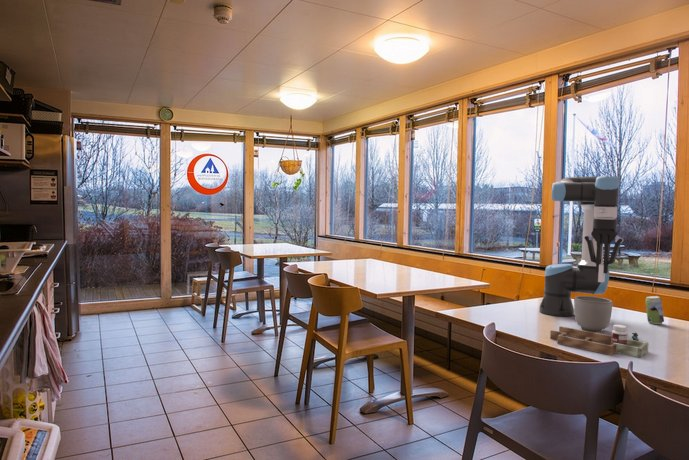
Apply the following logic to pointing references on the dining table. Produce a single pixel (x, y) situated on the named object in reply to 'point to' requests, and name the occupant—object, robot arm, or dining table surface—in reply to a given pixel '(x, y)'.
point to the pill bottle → (619, 334)
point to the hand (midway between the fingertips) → (601, 281)
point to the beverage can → (654, 310)
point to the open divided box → (630, 349)
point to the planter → (592, 313)
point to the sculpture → (635, 336)
